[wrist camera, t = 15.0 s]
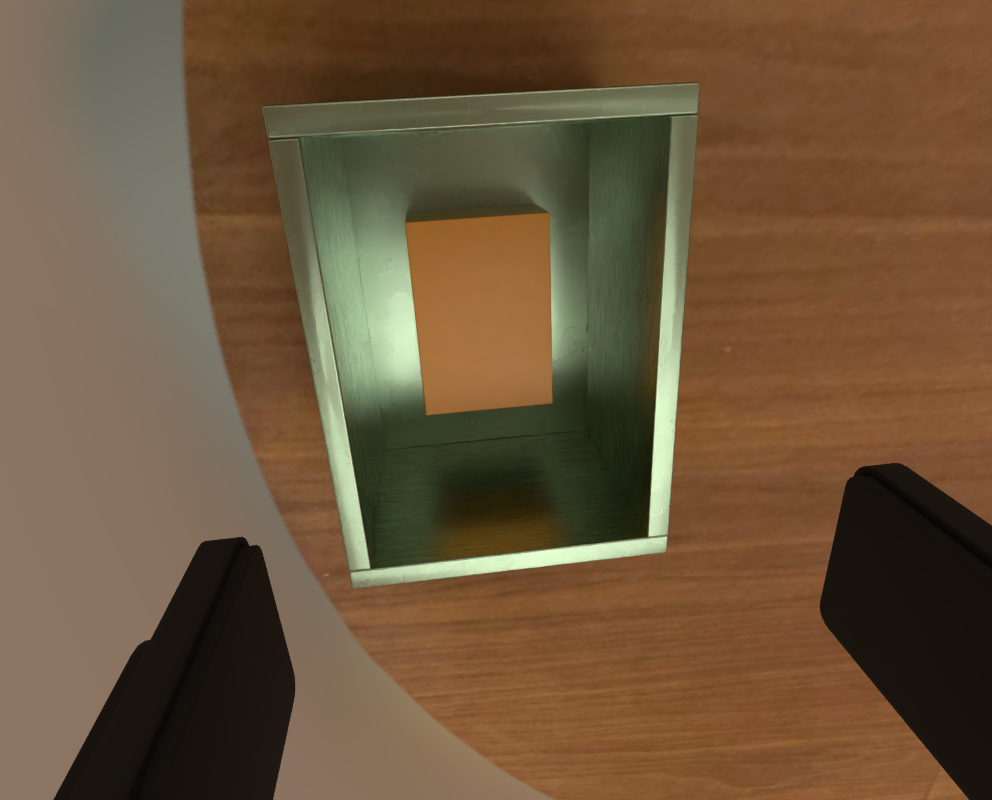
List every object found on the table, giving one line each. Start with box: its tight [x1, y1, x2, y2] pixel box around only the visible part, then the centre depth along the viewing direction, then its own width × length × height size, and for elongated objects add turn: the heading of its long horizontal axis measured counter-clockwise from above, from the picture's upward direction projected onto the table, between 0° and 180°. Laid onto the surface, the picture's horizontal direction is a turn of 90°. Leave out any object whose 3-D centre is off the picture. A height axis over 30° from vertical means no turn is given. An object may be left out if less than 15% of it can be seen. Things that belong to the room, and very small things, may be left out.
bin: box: [262, 82, 700, 589], centre depth 23 cm, size 16×12×10 cm
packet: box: [405, 204, 553, 415], centre depth 26 cm, size 8×6×3 cm
